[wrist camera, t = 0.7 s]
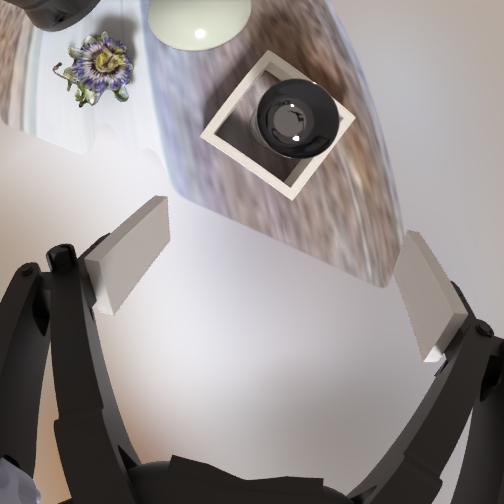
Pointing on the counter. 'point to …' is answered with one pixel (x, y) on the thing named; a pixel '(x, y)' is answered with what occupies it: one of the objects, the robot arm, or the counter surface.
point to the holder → (287, 187)
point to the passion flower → (98, 69)
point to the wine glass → (296, 119)
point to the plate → (197, 22)
